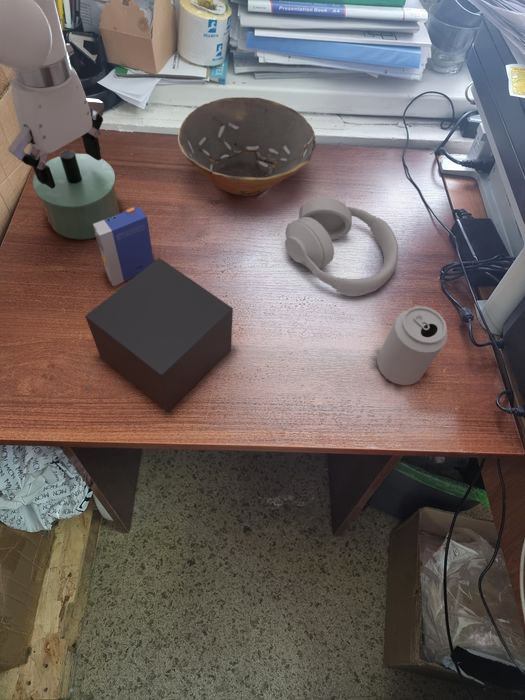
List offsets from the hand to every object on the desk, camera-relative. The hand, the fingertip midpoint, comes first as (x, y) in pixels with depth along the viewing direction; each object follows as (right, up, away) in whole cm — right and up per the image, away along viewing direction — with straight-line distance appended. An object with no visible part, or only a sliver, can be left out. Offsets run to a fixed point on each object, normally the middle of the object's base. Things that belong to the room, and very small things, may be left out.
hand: (71, 169), depth 84 cm
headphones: (+46, -13, +8) cm, 48 cm away
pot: (-1, -5, +8) cm, 10 cm away
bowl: (+28, +4, +17) cm, 33 cm away
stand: (+17, -31, -6) cm, 36 cm away
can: (+53, -33, -4) cm, 63 cm away
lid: (0, -1, +2) cm, 2 cm away
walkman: (+9, -17, +2) cm, 19 cm away
